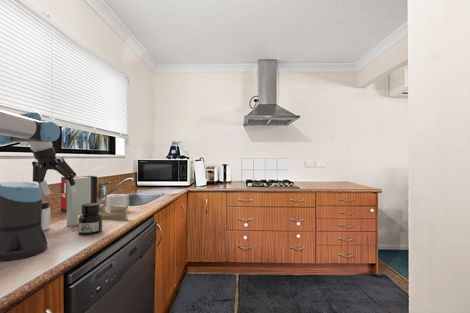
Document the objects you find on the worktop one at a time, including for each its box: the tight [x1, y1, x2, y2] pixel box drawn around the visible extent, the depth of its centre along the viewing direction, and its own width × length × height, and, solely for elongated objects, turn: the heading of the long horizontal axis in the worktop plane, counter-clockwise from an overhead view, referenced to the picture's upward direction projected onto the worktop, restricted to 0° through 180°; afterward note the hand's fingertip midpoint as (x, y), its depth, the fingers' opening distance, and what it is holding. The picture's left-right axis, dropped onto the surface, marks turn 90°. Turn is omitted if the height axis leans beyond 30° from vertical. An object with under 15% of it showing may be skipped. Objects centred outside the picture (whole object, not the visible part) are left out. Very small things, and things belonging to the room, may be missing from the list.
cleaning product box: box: [60, 175, 98, 214], centre depth 154 cm, size 16×9×20 cm, turn 143°
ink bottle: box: [77, 202, 103, 236], centre depth 108 cm, size 10×9×12 cm
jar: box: [41, 200, 51, 232], centre depth 111 cm, size 9×8×12 cm
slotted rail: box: [99, 203, 129, 221], centre depth 132 cm, size 2×22×7 cm, turn 77°
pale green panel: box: [66, 177, 91, 227], centre depth 123 cm, size 11×3×22 cm, turn 167°
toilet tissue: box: [105, 193, 127, 211], centre depth 147 cm, size 11×12×10 cm
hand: (60, 193), depth 114 cm, fingers open, 13 cm apart
